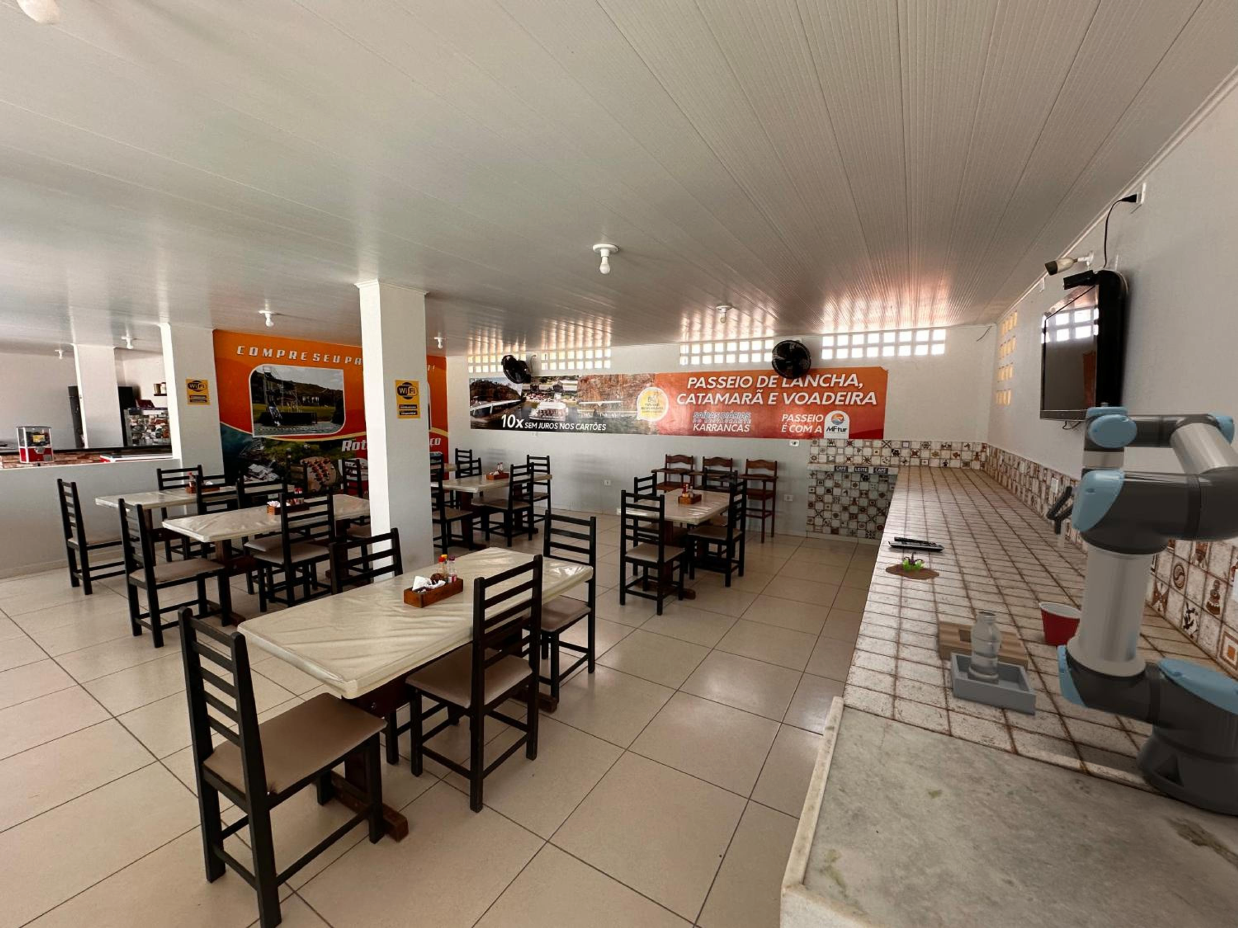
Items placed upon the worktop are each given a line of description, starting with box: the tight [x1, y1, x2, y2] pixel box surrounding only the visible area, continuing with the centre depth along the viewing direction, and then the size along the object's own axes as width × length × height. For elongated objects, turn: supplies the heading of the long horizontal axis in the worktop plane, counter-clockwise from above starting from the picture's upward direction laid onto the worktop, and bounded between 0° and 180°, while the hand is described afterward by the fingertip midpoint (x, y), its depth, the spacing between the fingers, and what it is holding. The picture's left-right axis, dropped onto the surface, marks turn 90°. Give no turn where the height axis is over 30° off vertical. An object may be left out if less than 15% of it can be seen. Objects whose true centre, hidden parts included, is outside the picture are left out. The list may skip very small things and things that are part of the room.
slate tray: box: [949, 652, 1037, 716], centre depth 129 cm, size 16×16×5 cm
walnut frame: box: [937, 619, 1029, 674], centre depth 150 cm, size 20×20×4 cm
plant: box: [885, 550, 940, 581], centre depth 223 cm, size 20×20×11 cm
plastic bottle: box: [967, 610, 1002, 685], centre depth 129 cm, size 6×7×20 cm
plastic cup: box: [1038, 601, 1081, 648], centre depth 154 cm, size 11×11×12 cm
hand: (1095, 550), depth 128 cm, fingers open, 13 cm apart
